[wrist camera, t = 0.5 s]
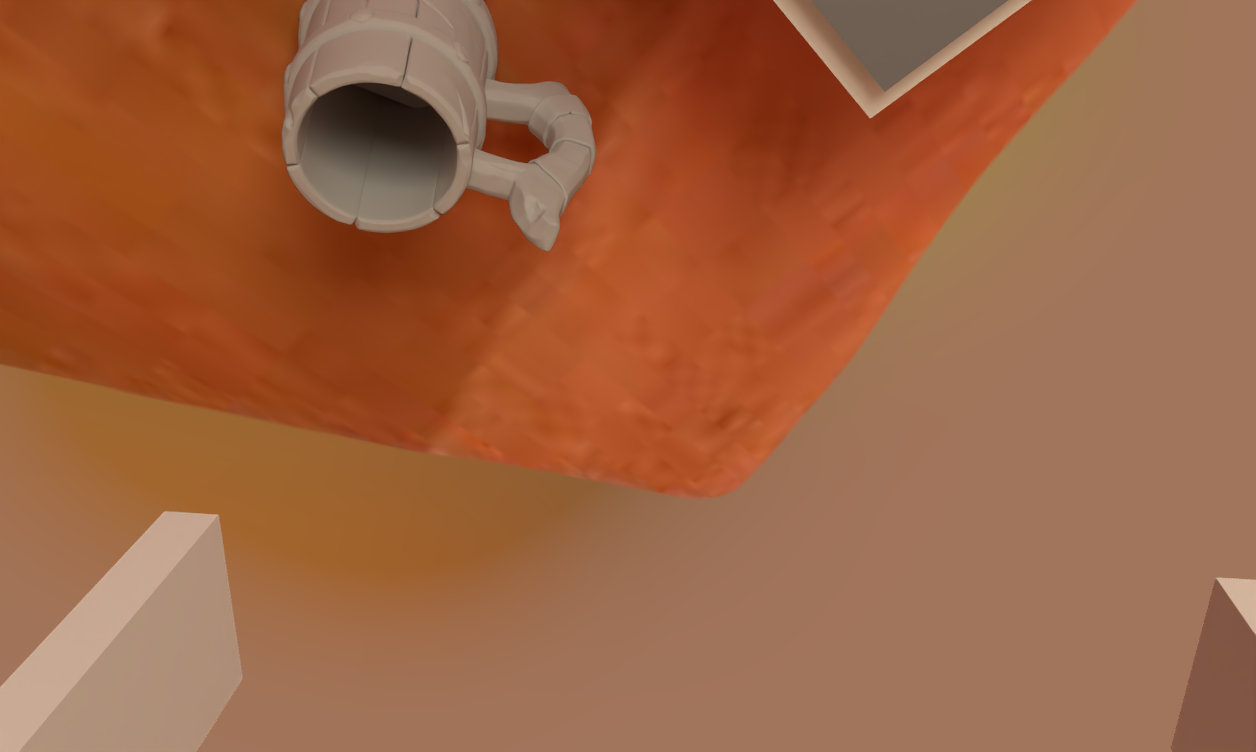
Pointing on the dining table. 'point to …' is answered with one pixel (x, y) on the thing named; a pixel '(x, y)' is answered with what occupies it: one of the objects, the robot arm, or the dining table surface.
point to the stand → (891, 39)
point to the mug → (421, 118)
